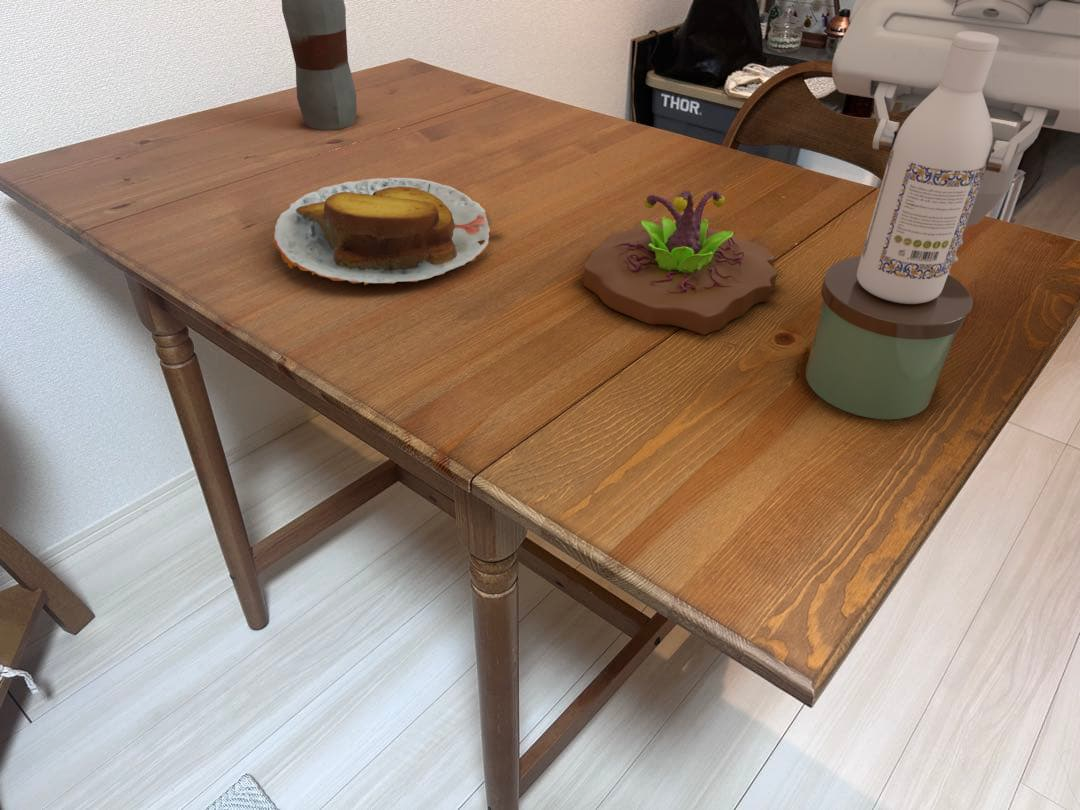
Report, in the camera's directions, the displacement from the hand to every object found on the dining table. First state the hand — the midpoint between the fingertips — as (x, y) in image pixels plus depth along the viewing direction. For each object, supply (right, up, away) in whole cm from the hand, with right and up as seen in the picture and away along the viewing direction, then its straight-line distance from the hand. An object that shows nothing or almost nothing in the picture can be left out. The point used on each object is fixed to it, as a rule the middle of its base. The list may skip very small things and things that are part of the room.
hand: (938, 158), depth 62 cm
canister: (0, -17, +14) cm, 22 cm away
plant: (-15, -5, +28) cm, 33 cm away
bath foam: (0, -9, +8) cm, 12 cm away
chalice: (+12, -7, +26) cm, 30 cm away
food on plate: (-49, 0, +35) cm, 60 cm away
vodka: (-64, +27, +69) cm, 98 cm away
